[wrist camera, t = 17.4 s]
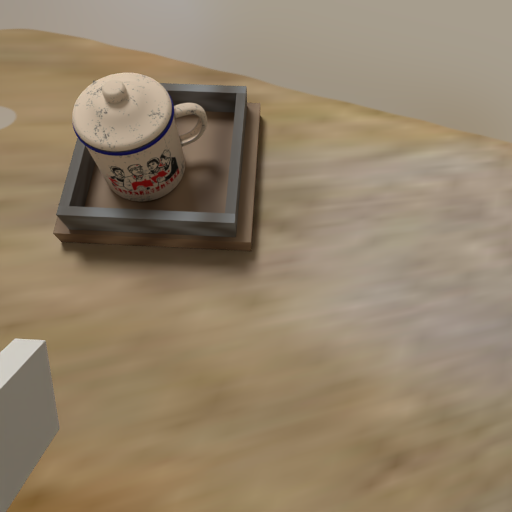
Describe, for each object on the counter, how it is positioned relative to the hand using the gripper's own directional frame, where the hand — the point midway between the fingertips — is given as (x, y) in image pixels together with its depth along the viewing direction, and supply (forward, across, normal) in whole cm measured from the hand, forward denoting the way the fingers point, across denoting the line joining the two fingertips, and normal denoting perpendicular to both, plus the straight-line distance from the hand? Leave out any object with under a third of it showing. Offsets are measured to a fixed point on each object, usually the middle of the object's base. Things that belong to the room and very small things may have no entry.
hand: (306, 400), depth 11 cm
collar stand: (+40, -13, -2) cm, 42 cm away
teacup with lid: (+38, -14, -1) cm, 41 cm away
